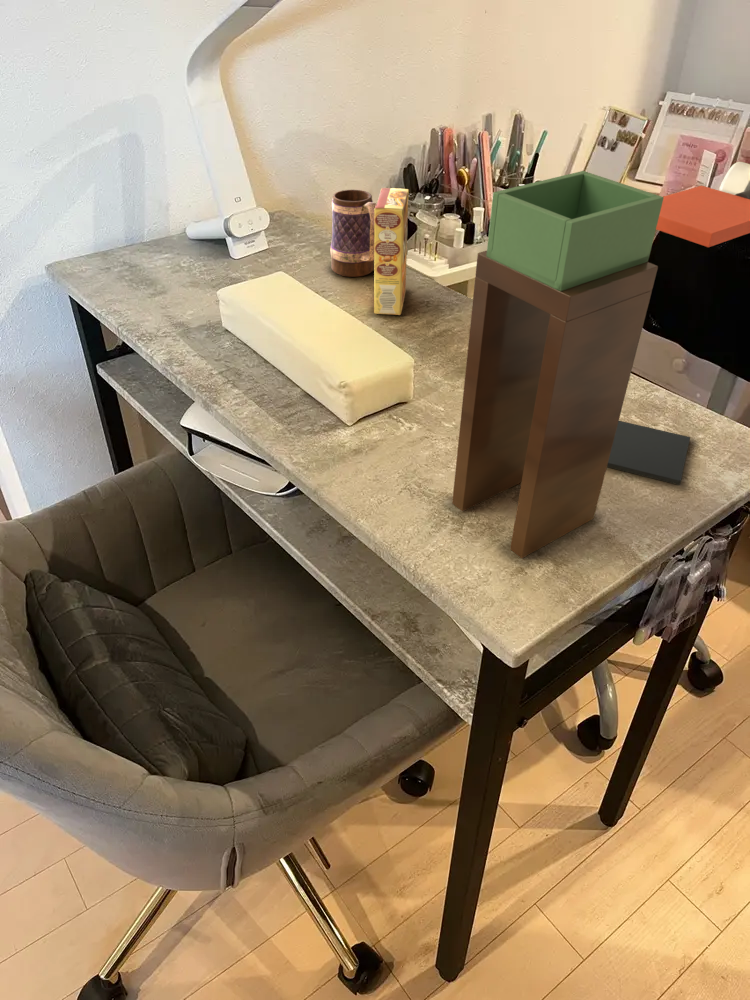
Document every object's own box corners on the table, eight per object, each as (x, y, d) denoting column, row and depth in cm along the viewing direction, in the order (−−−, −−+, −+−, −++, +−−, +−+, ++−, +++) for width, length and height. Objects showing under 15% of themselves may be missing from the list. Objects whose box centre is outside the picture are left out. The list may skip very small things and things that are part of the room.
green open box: (572, 231, 66) (583, 170, 62) (648, 261, 61) (664, 196, 57) (485, 256, 61) (492, 192, 58) (560, 291, 56) (572, 222, 53)
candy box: (401, 316, 111) (405, 208, 101) (372, 314, 111) (373, 207, 101) (406, 291, 118) (410, 188, 108) (378, 289, 118) (380, 186, 108)
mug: (323, 265, 125) (321, 189, 117) (361, 257, 128) (361, 183, 120) (353, 288, 118) (353, 209, 110) (392, 280, 121) (395, 202, 113)
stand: (522, 469, 83) (563, 228, 66) (593, 518, 76) (658, 266, 60) (451, 503, 78) (477, 252, 62) (521, 558, 72) (570, 296, 55)
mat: (689, 441, 87) (690, 436, 87) (679, 485, 81) (681, 480, 80) (600, 420, 90) (601, 416, 90) (584, 461, 84) (585, 457, 83)
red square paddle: (767, 180, 80) (772, 161, 79) (847, 201, 75) (854, 182, 74) (626, 222, 70) (630, 202, 69) (707, 251, 64) (713, 229, 63)
